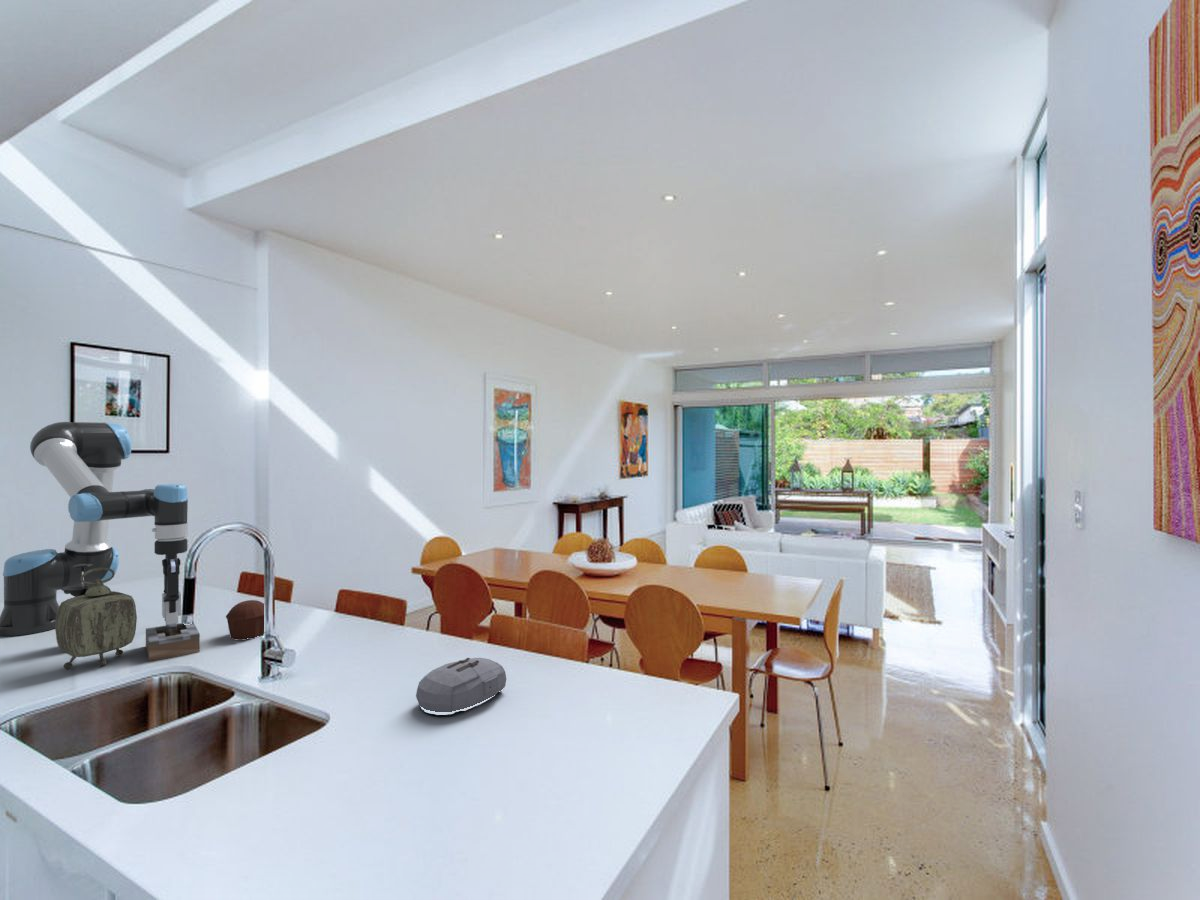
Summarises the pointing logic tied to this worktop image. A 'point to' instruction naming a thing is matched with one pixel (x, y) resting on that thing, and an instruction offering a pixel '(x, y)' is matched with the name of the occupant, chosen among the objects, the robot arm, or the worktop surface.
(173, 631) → the headed peg
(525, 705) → the worktop surface
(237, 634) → the muffin
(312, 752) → the worktop surface
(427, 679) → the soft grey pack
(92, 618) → the tabletop clock
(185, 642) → the keyhole block
